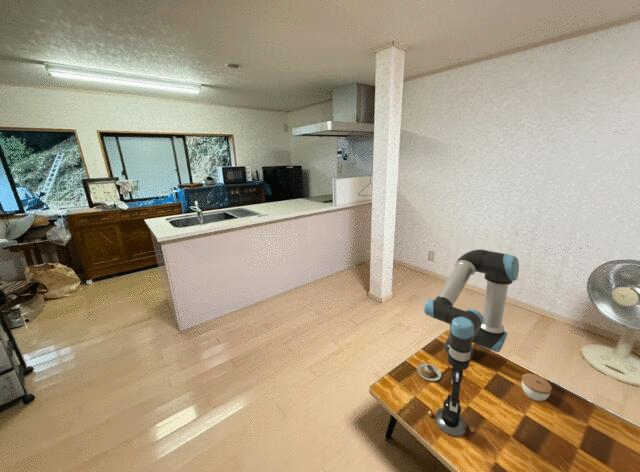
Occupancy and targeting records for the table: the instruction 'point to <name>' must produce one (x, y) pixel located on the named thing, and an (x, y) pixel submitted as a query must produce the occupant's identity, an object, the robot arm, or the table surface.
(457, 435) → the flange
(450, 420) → the supplement bottle
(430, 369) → the grey ring with stone
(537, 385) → the lidded jar
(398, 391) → the table surface
